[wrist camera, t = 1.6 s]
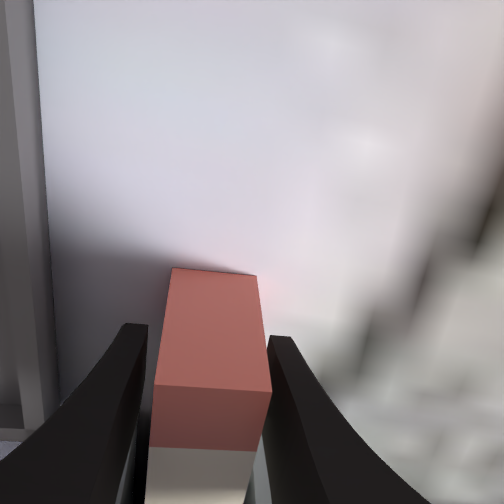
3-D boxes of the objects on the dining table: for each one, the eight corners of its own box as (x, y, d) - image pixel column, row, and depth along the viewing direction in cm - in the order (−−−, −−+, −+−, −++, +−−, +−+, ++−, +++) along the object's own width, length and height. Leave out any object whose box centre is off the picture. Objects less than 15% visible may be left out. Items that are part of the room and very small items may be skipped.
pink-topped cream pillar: (215, 479, 18) (215, 610, 15) (153, 477, 18) (136, 610, 14) (256, 276, 14) (272, 391, 10) (172, 267, 13) (154, 384, 9)
